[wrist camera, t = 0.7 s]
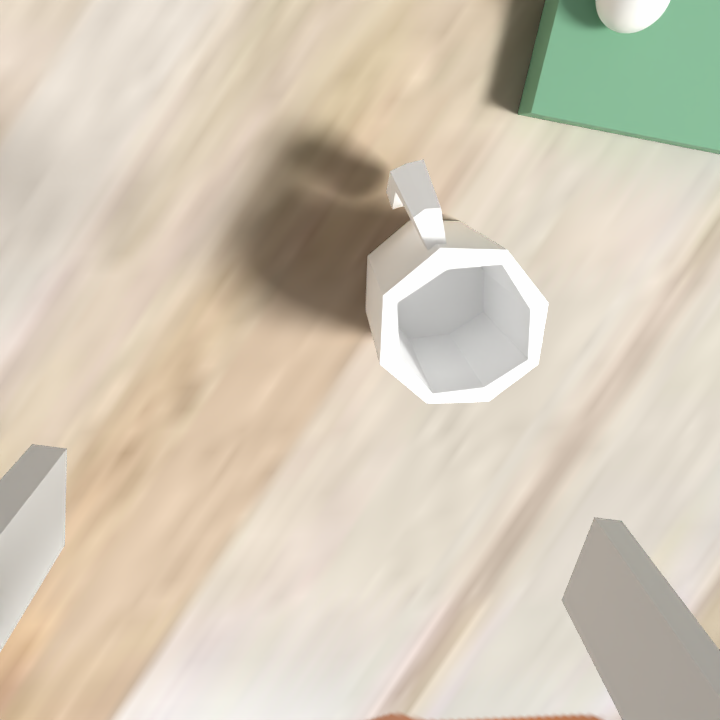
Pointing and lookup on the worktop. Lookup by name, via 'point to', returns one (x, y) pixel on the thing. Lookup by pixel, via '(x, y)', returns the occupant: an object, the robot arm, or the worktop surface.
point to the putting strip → (629, 73)
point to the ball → (630, 13)
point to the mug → (449, 302)
